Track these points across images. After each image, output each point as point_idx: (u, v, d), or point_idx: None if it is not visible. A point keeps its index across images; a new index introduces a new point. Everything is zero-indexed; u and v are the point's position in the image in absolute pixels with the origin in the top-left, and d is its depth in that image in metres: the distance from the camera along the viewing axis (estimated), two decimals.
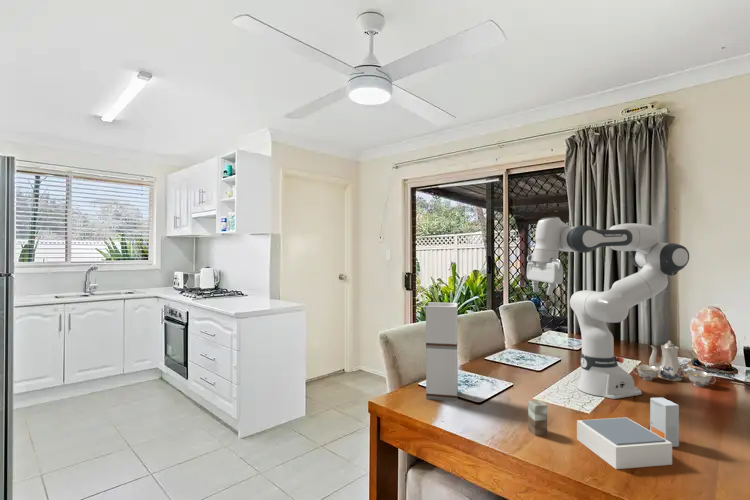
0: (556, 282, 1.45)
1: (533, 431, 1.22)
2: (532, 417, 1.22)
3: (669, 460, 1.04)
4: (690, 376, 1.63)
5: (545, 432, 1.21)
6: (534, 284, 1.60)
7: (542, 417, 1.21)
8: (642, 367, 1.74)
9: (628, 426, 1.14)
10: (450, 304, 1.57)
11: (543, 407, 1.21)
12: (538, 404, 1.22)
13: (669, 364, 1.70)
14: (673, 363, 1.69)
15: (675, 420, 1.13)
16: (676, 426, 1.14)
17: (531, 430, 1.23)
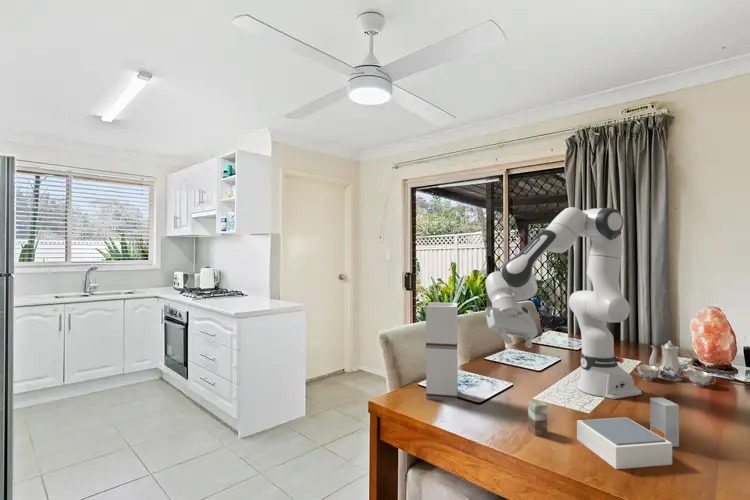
0: (491, 328, 1.36)
1: (533, 431, 1.22)
2: (532, 417, 1.22)
3: (669, 460, 1.04)
4: (690, 376, 1.62)
5: (545, 432, 1.21)
6: (527, 340, 1.41)
7: (542, 417, 1.21)
8: (642, 367, 1.74)
9: (628, 426, 1.14)
10: (450, 304, 1.57)
11: (543, 407, 1.21)
12: (538, 404, 1.22)
13: (669, 365, 1.70)
14: (673, 363, 1.69)
15: (675, 420, 1.13)
16: (676, 426, 1.14)
17: (531, 430, 1.23)
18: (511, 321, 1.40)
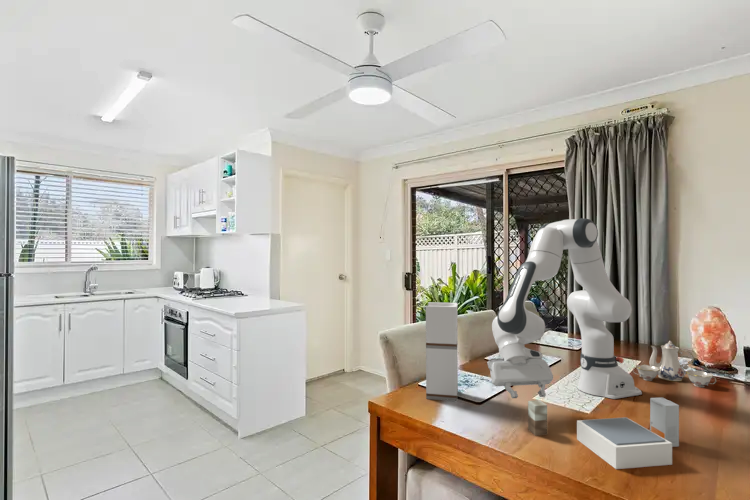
0: (494, 383, 1.30)
1: (533, 431, 1.22)
2: (532, 417, 1.22)
3: (669, 460, 1.04)
4: (690, 376, 1.62)
5: (545, 432, 1.21)
6: (541, 388, 1.31)
7: (542, 417, 1.21)
8: (642, 367, 1.74)
9: (628, 426, 1.14)
10: (450, 304, 1.57)
11: (543, 407, 1.21)
12: (538, 404, 1.22)
13: (669, 365, 1.70)
14: (673, 363, 1.69)
15: (675, 420, 1.13)
16: (676, 426, 1.14)
17: (531, 430, 1.23)
18: (517, 371, 1.32)
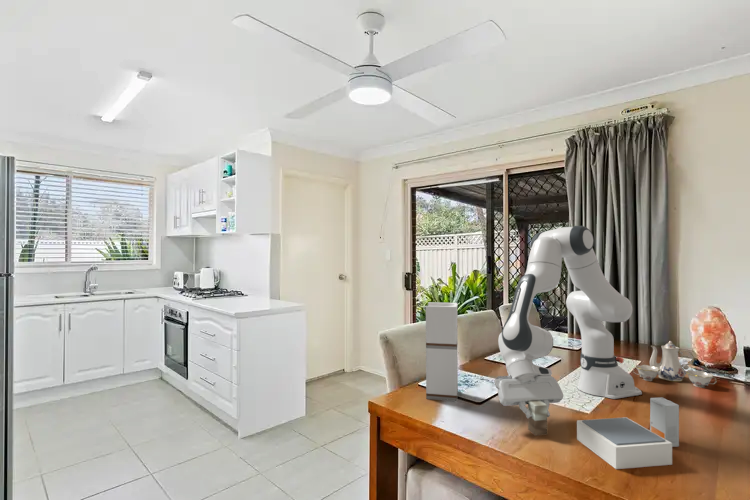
0: (502, 403, 1.25)
1: (533, 431, 1.22)
2: (532, 417, 1.22)
3: (669, 460, 1.04)
4: (690, 376, 1.62)
5: (545, 432, 1.21)
6: None
7: (542, 417, 1.21)
8: (642, 367, 1.74)
9: (628, 426, 1.14)
10: (450, 304, 1.57)
11: (543, 407, 1.21)
12: (538, 404, 1.22)
13: (669, 365, 1.69)
14: (673, 363, 1.69)
15: (675, 420, 1.13)
16: (676, 426, 1.14)
17: (531, 430, 1.23)
18: (526, 390, 1.27)
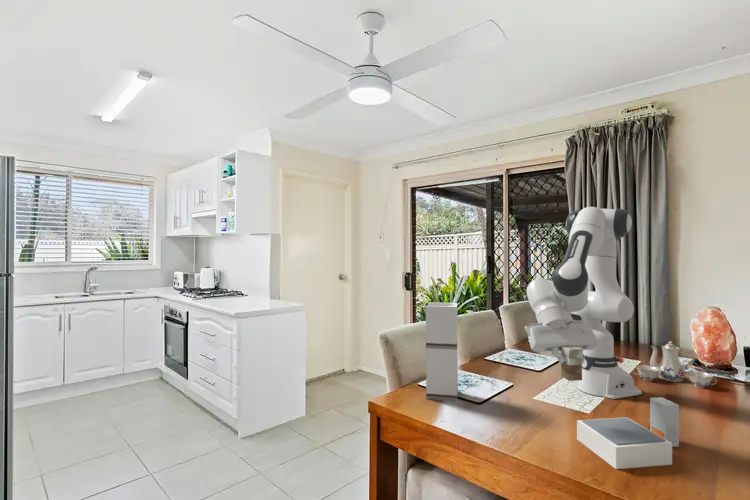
0: (534, 349, 1.20)
1: (567, 376, 1.17)
2: (566, 362, 1.17)
3: (669, 460, 1.04)
4: (691, 377, 1.62)
5: (580, 377, 1.16)
6: None
7: (577, 362, 1.16)
8: (642, 368, 1.74)
9: (628, 426, 1.14)
10: (450, 304, 1.57)
11: (578, 351, 1.16)
12: (572, 348, 1.17)
13: (669, 365, 1.69)
14: (674, 364, 1.68)
15: (675, 420, 1.13)
16: (676, 426, 1.14)
17: (565, 376, 1.18)
18: (558, 335, 1.21)
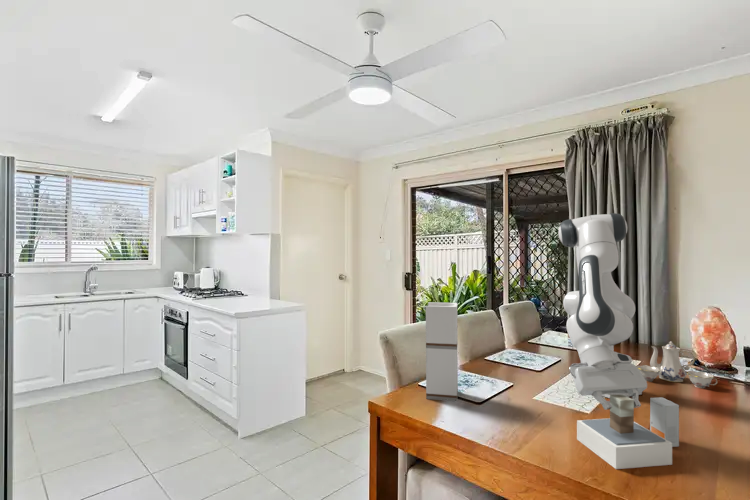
0: (581, 392, 1.14)
1: (618, 428, 1.10)
2: (616, 413, 1.10)
3: (669, 460, 1.04)
4: (691, 377, 1.61)
5: (631, 430, 1.10)
6: (633, 397, 1.14)
7: (628, 413, 1.09)
8: (643, 368, 1.73)
9: None
10: (450, 304, 1.57)
11: (629, 402, 1.09)
12: (623, 399, 1.10)
13: (670, 365, 1.69)
14: (674, 364, 1.68)
15: (675, 420, 1.13)
16: (676, 426, 1.14)
17: (614, 427, 1.11)
18: (606, 378, 1.15)
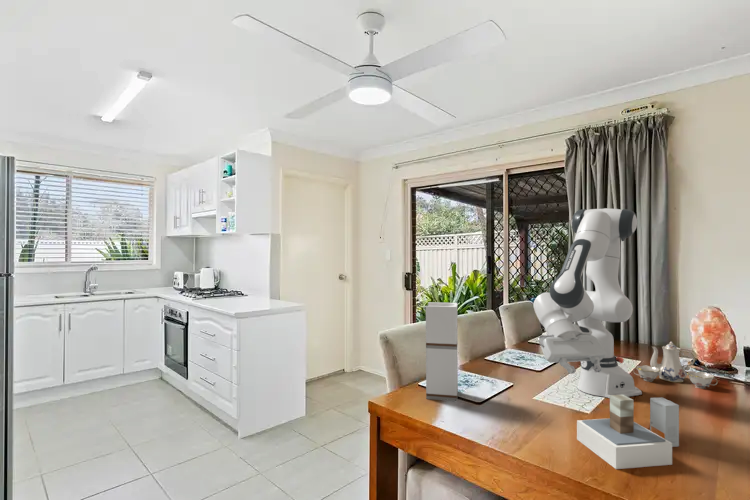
0: (549, 359, 1.24)
1: (618, 428, 1.10)
2: (616, 413, 1.10)
3: (669, 460, 1.04)
4: (691, 377, 1.61)
5: (631, 430, 1.10)
6: (595, 363, 1.26)
7: (628, 413, 1.09)
8: (643, 368, 1.73)
9: None
10: (450, 304, 1.57)
11: (629, 402, 1.09)
12: (623, 399, 1.10)
13: (670, 366, 1.68)
14: (674, 364, 1.68)
15: (675, 420, 1.13)
16: (676, 426, 1.14)
17: (614, 427, 1.11)
18: (570, 346, 1.26)
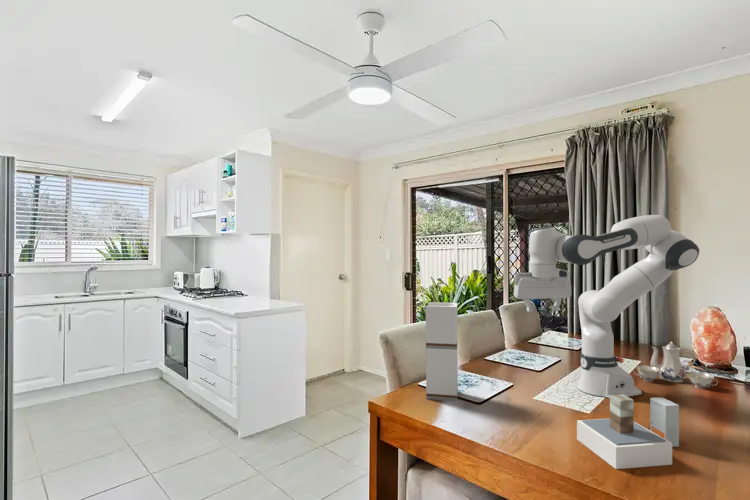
0: (515, 297, 1.42)
1: (618, 428, 1.10)
2: (616, 413, 1.10)
3: (669, 460, 1.04)
4: (691, 378, 1.61)
5: (631, 430, 1.10)
6: (555, 302, 1.43)
7: (628, 413, 1.09)
8: (643, 368, 1.73)
9: None
10: (450, 304, 1.57)
11: (629, 402, 1.09)
12: (623, 399, 1.10)
13: (670, 366, 1.68)
14: (674, 364, 1.68)
15: (675, 420, 1.13)
16: (676, 426, 1.14)
17: (614, 427, 1.11)
18: (540, 289, 1.40)
